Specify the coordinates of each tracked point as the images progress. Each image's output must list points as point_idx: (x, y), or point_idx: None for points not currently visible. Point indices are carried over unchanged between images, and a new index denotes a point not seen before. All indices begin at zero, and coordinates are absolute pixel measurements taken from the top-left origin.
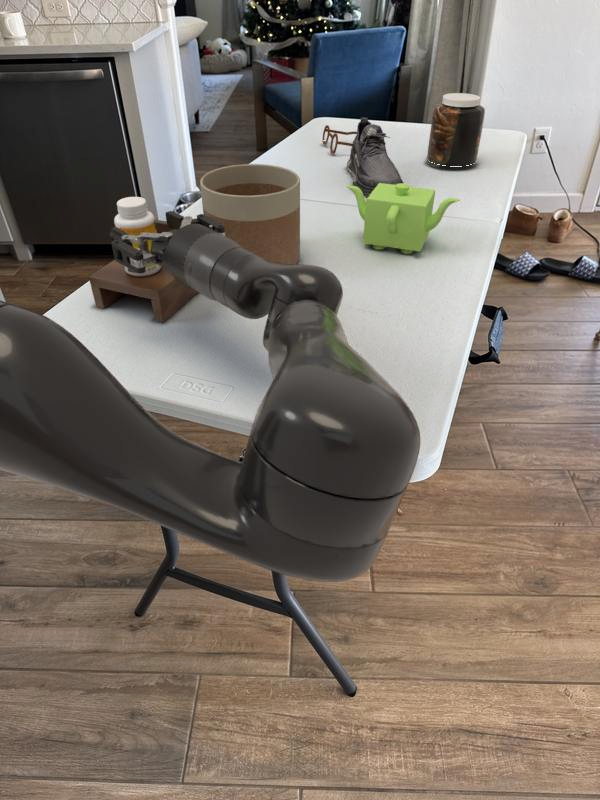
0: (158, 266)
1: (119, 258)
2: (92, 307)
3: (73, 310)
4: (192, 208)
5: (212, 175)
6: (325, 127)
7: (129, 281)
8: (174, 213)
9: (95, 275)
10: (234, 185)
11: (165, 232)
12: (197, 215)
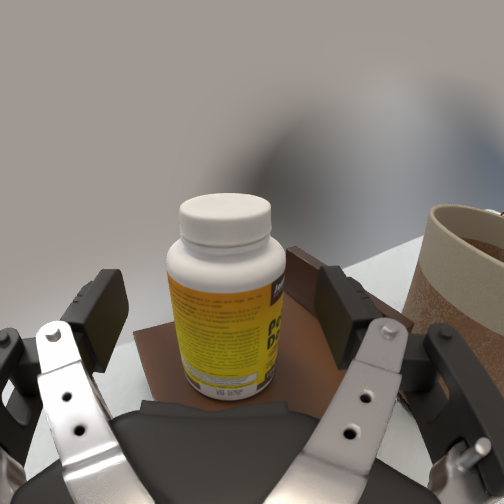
0: (252, 390)
1: (18, 393)
2: (142, 373)
3: (118, 362)
4: (389, 249)
5: (445, 212)
6: (502, 213)
7: (169, 393)
8: (345, 282)
9: (143, 335)
10: (468, 239)
11: (128, 474)
12: (430, 327)
